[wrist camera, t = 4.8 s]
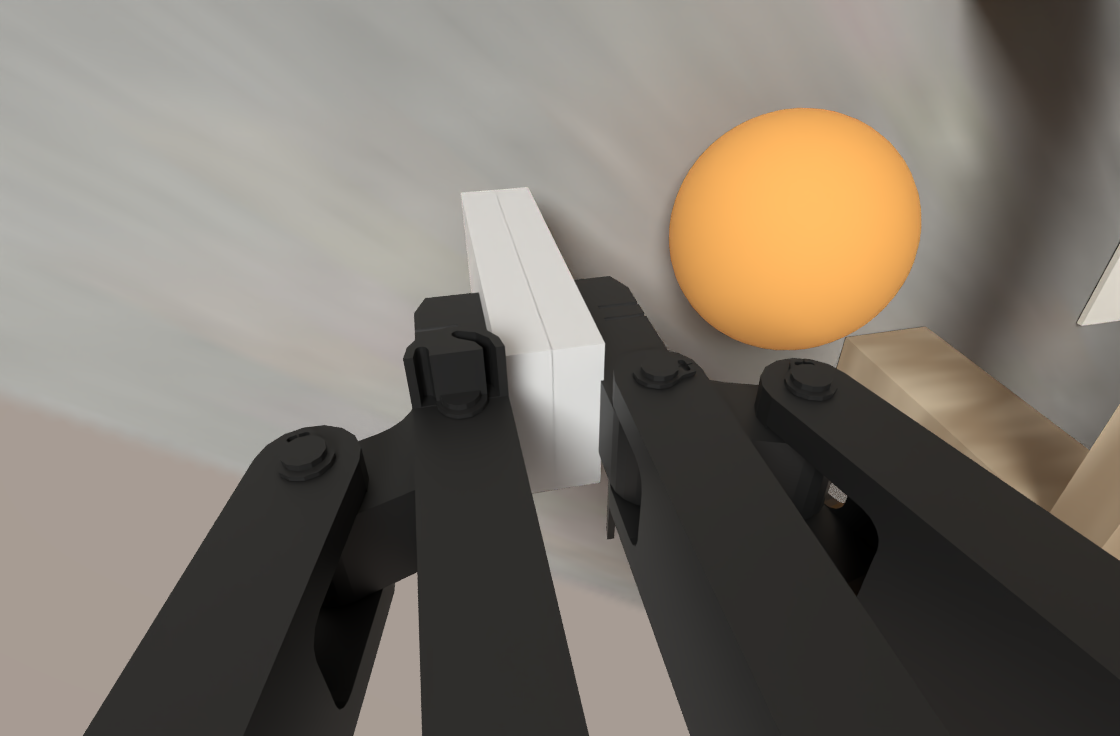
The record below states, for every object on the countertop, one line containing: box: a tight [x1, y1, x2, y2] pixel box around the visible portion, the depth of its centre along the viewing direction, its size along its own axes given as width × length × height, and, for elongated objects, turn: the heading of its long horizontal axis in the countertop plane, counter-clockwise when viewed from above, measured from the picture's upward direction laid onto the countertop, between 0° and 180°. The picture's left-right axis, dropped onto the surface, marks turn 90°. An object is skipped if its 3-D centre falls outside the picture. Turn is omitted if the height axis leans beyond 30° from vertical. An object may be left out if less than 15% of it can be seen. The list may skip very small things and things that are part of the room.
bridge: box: [837, 327, 1120, 560], centre depth 14 cm, size 3×14×9 cm, turn 1°
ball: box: [669, 108, 921, 350], centre depth 15 cm, size 6×6×6 cm
